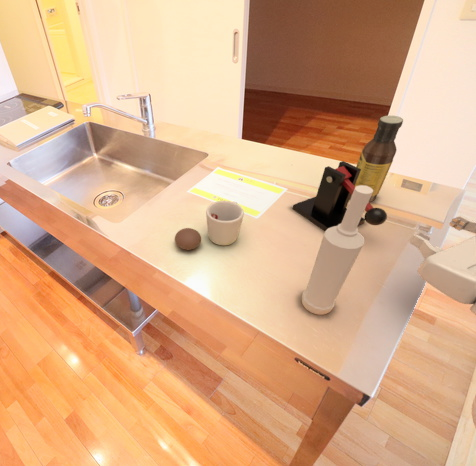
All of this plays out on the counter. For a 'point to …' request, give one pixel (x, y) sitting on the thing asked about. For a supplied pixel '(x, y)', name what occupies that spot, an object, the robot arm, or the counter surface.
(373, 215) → the lever
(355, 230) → the bottle
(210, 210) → the cup
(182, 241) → the egg
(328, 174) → the press
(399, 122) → the sauce bottle
